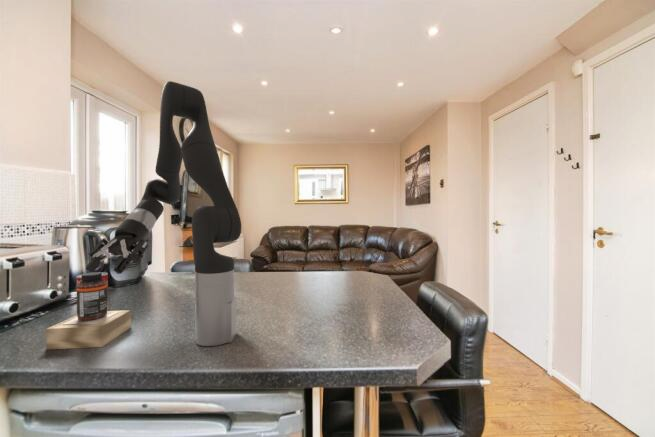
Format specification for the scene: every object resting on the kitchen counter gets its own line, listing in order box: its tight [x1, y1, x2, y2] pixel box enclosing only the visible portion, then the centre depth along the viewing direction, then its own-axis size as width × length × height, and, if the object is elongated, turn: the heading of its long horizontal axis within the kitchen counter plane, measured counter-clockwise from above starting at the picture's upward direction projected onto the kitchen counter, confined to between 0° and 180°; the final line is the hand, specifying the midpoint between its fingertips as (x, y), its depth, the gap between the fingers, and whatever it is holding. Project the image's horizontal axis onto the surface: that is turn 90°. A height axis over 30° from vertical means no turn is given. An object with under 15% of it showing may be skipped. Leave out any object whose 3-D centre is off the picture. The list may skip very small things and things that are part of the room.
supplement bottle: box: [76, 271, 108, 321], centre depth 74 cm, size 6×6×11 cm
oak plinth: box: [45, 309, 132, 350], centre depth 74 cm, size 12×12×5 cm
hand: (102, 271), depth 77 cm, fingers open, 8 cm apart
